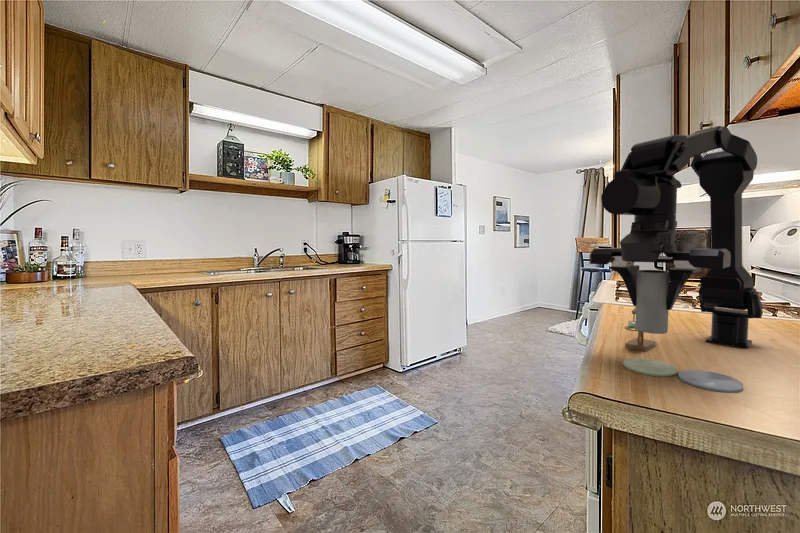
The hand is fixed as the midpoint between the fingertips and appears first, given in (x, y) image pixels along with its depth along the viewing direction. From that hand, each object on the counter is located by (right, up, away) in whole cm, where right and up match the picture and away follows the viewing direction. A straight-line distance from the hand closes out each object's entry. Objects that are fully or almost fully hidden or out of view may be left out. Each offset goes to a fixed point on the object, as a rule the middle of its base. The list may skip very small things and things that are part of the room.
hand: (651, 307), depth 61 cm
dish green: (0, -11, +1) cm, 11 cm away
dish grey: (+5, -11, -6) cm, 13 cm away
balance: (+7, -10, +13) cm, 18 cm away
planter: (0, -4, 0) cm, 4 cm away
